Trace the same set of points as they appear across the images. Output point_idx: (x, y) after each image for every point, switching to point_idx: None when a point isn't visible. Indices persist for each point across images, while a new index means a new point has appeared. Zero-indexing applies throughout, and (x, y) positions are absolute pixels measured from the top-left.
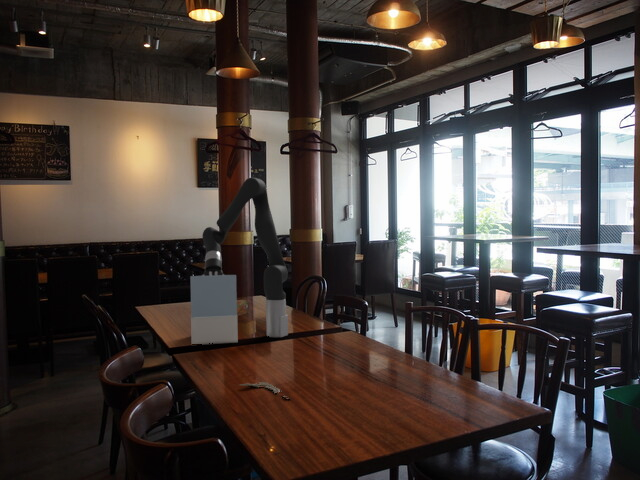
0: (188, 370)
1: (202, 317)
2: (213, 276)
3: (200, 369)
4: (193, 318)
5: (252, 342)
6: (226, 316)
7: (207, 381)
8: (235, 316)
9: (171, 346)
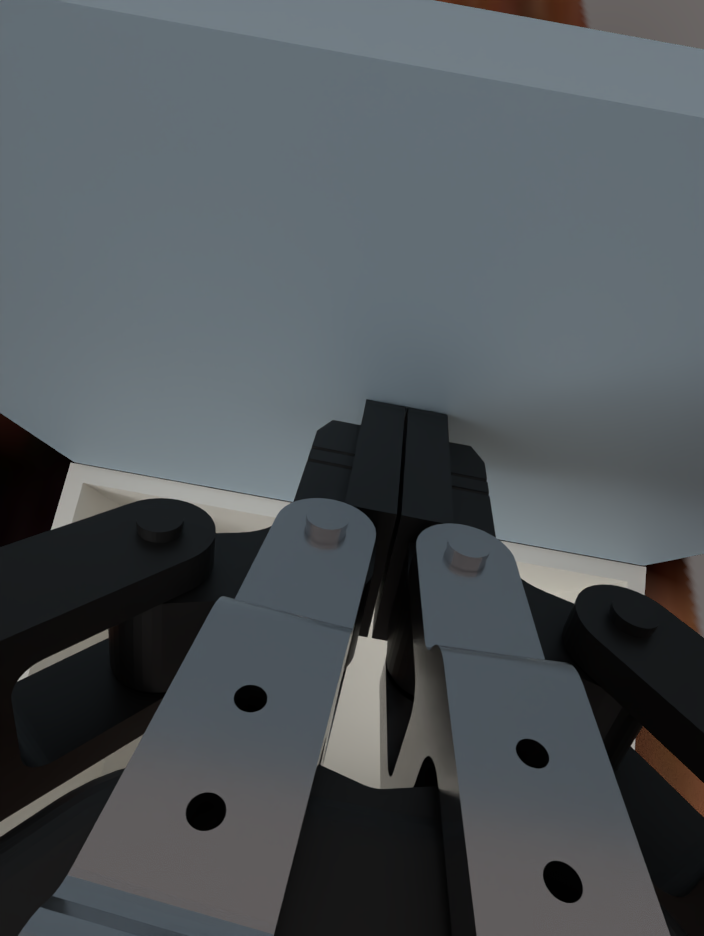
0: (582, 24)
1: (504, 541)
2: (492, 52)
3: (518, 15)
4: (610, 563)
5: (45, 469)
6: (207, 489)
7: None
8: (97, 470)
9: (694, 614)
